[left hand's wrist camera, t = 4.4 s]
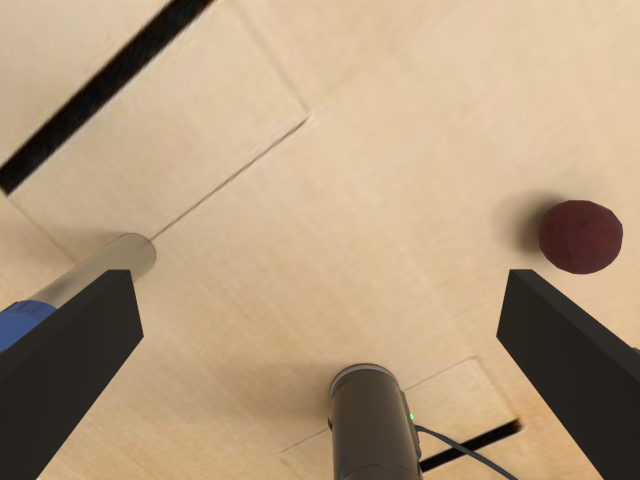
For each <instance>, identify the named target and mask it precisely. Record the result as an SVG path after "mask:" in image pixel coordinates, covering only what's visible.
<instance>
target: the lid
mask: <svg viewBox="0 0 640 480" xmlns="http://www.w3.org/2000/svg"><path fill="white" fill-rule="evenodd" d="M56 310H57V308H55V307H54V306H52V305H50V304H47V303H45V302H41V301H36V300H24V301H20V302H15V303H13V304H12V305H10V306H9V307H7V308H6V309H4V310H3V311H1V312H0V351H2V350H4V349H7V348H9V347H10V346H11V345H13V344H14V343H15V342H16V341H18V340H19V339H20V338H21V337H23V336H24V335H25V334H27V333H28V332H29V331H30V330H32V329H33V328H34V327H35V326H37V325H38V324H39V323H41V322H42V321H43V320H44V319H46V318H47V317H48V316H49V315H51V314H52V313H53V312H55V311H56Z"/></svg>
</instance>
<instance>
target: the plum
mask: <svg viewBox="0 0 640 480" xmlns="http://www.w3.org/2000/svg"><path fill="white" fill-rule="evenodd" d="M622 237H623V229H622V224H621V223H620V221H619V220H618V218H617V217H616V216H615V215H614V213H613V212H612V211H611V210H609V209H607V208H605V207H603V206H601V205H598V204H596V203H593V202H591V201H584V200H569V201H566V202H563V203H561V204H558V205H556V206H555V207H553V208H552V209H551V210H550V211H548V213H547V214H546V216H545V217H544V219H543V221H542V225H541V228H540V232H539V244H540V248H541V250H542V252H543V253H544V255H545V256H546V258H547V259H548V260H549V261H550V262H551V263H552V264H554V265H555V266H556V267H557V268H559V269H562V270H564V271H567V272H570V273H572V274H590V273H594V272H597V271H599V270H602V269H604V268H605V267H607V266H608V265H609V264H611V263H612V262H613V261H614V260H615V258H616V257H617V256H618V254H619V252H620V249H621V244H622Z"/></svg>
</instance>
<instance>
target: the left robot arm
mask: <svg viewBox="0 0 640 480" xmlns="http://www.w3.org/2000/svg"><path fill="white" fill-rule="evenodd" d="M143 337H144V335H143V330H142V325H141V320H140V315H139V310H138V305H137V300H136V296H135V291H134V286H133V281H132V276H131V271H130V269H108V270H107V271H105V272H104V273H103V274H102V275H100V276H99V277H98V278H97V279H95V280H94V281H93V282H91V283H90V284H89V285H88V286H86V287H85V288H84V289H83V290H81V291H80V292H79V293H77V294H76V295H75V296H74V297H72V298H71V299H70V300H69V301H67V302H66V303H65V304H63V305H62V306H61V307H60V308H58V309H57V310H56V311H55V312H53V313H52V314H51V315H49V316H48V317H47V318H46V319H44V320H43V321H42V322H41V323H39V324H38V325H37V326H35V327H34V328H33V329H32V330H30V331H29V332H28V333H27V334H25V335H24V336H23V337H21V338H20V339H19V340H18V341H16V342H15V343H14V344H13V345H11V346H10V347H9V348H7V349H4V350H2V351H0V480H36V479H37V478H38V476H39V475H40V474H41V472H42V471H43V470H44V468H45V467H46V466H47V464H48V463H49V462H50V460H51V459H52V458H53V456H54V455H55V454H56V452H57V451H58V450H59V448H60V447H61V446H62V444H63V443H64V442H65V441H66V439H67V438H68V437H69V435H70V434H71V433H72V431H73V430H74V429H75V427H76V426H77V425H78V423H79V422H80V421H81V419H82V418H83V417H84V415H85V414H86V413H87V411H88V410H89V409H90V407H91V406H92V405H93V403H94V402H95V401H96V399H97V398H98V397H99V395H100V394H101V393H102V391H103V390H104V389H105V387H106V386H107V385H108V383H109V382H110V381H111V379H112V378H113V377H114V375H115V374H116V373H117V372H118V370H119V369H120V368H121V366H122V365H123V364H124V362H125V361H126V360H127V358H128V357H129V356H130V354H131V353H132V352H133V350H134V349H135V348H136V346H137V345H138V344H139V342H140V341H141V340H142V338H143ZM496 337H497V338H498V340H499V341H500V342H501V344H502V345H503V346H504V348H505V349H506V350H507V352H508V353H509V354H510V356H511V357H512V358H513V360H514V361H515V362H516V364H517V365H518V366H519V368H520V369H521V370H522V372H523V373H524V374H525V375H526V377H527V378H528V379H529V381H530V382H531V383H532V385H533V386H534V387H535V389H536V390H537V391H538V393H539V394H540V395H541V397H542V398H543V399H544V401H545V402H546V403H547V405H548V406H549V407H550V409H551V410H552V411H553V413H554V414H555V415H556V417H557V418H558V419H559V421H560V422H561V423H562V425H563V426H564V427H565V429H566V430H567V431H568V433H569V434H570V435H571V437H572V438H573V439H574V441H575V442H576V443H577V444H578V446H579V447H580V448H581V450H582V451H583V452H584V454H585V455H586V456H587V458H588V459H589V460H590V462H591V463H592V464H593V466H594V467H595V468H596V470H597V471H598V472H599V474H600V475H601V476H602V478H603V479H604V480H640V350H639V349H637V348H631V347H630V346H629V345H627V344H626V343H625V342H624V341H622V340H621V339H620V338H619V337H617V336H616V335H615V334H613V333H612V332H611V331H610V330H608V329H607V328H606V327H605V326H603V325H602V324H601V323H599V322H598V321H597V320H596V319H594V318H593V317H592V316H591V315H589V314H588V313H587V312H585V311H584V310H583V309H582V308H580V307H579V306H578V305H577V304H575V303H574V302H573V301H571V300H570V299H569V298H568V297H566V296H565V295H564V294H563V293H561V292H560V291H559V290H557V289H556V288H555V287H554V286H552V285H551V284H550V283H549V282H547V281H546V280H545V279H543V278H542V277H541V276H540V275H538V274H537V273H536V272H535V271H533V270H532V269H510V271H509V276H508V281H507V286H506V291H505V296H504V300H503V305H502V310H501V315H500V320H499V325H498V330H497V335H496Z"/></svg>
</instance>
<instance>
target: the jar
mask: <svg viewBox="0 0 640 480" xmlns="http://www.w3.org/2000/svg"><path fill="white" fill-rule="evenodd" d="M155 260H156V251H155V248H154V246H153V245H152V243H151V242H150V241H149V240H148V239H147V238H145V237H144V236H142V235H139V234H134V233H128V234H125V235H122V236H121V237H119V238H118V239H116V240H115V241H113V242H112V243H110V244H109V245H107V246H106V247H104V248H103V249H101V250H100V251H98V252H97V253H95V254H94V255H92V256H91V257H89V258H88V259H86V260H85V261H83V262H82V263H80V264H79V265H77V266H76V267H74V268H73V269H71V270H70V271H68V272H67V273H65V274H64V275H62V276H61V277H59V278H58V279H56V280H55V281H53V282H52V283H50V284H49V285H47V286H46V287H44V288H43V289H42V290H40V291H39V292H37V293H36V294H34V295H33V296H31V297H30V298H28V299H27V300H36V301H41V302H45V303H47V304H50V305H52V306H54V307H55V308H57V309H58V308H60V307H61V306H62V305H63V304H65V303H66V302H67V301H69V300H70V299H71V298H72V297H74V296H75V295H76V294H77V293H79V292H80V291H81V290H83V289H84V288H85V287H86V286H88V285H89V284H90V283H91V282H93V281H94V280H95V279H97V278H98V277H99V276H100V275H102V274H103V273H104V272H105V271H107V270H108V269H130V271H131V276H132V281H133V284H134V283H135V282H136V281H137V280H138V279H139V278H140V277H141V276H142V275H143V274H144V273H145V272H146V271H147V270H148V269H149V268H151V267H152V266H153V264H154V262H155Z"/></svg>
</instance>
